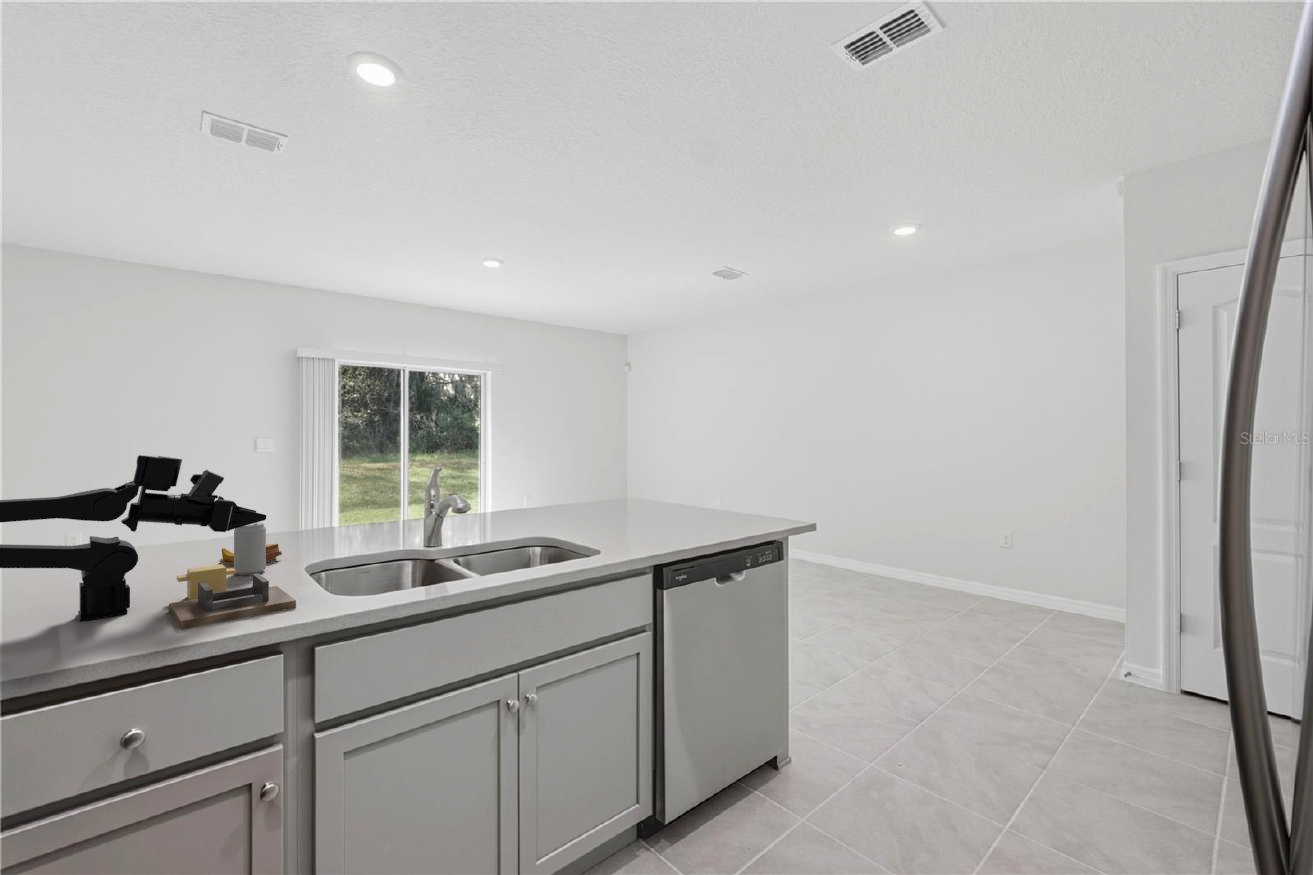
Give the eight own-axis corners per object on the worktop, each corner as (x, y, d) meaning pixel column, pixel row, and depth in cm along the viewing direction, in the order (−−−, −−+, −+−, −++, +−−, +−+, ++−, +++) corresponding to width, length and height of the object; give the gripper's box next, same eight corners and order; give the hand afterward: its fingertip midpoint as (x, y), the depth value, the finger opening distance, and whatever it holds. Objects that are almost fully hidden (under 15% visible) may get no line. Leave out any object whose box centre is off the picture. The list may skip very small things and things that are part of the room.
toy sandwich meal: (259, 554, 161) (259, 537, 161) (289, 560, 155) (290, 543, 155) (208, 564, 150) (208, 546, 150) (239, 571, 144) (239, 552, 144)
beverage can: (249, 576, 138) (249, 526, 138) (227, 574, 139) (227, 525, 139) (272, 570, 144) (272, 522, 144) (250, 568, 146) (250, 520, 145)
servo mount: (181, 629, 103) (181, 599, 103) (169, 611, 113) (169, 583, 113) (296, 607, 117) (296, 580, 116) (276, 592, 126) (276, 567, 126)
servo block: (179, 603, 118) (179, 573, 118) (176, 598, 121) (176, 570, 121) (236, 593, 125) (236, 566, 125) (232, 589, 128) (232, 562, 128)
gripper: (187, 471, 112) (279, 481, 123) (173, 467, 125) (258, 476, 136) (173, 529, 110) (268, 534, 121) (161, 519, 123) (248, 524, 134)
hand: (260, 515), depth 128 cm, fingers open, 9 cm apart
